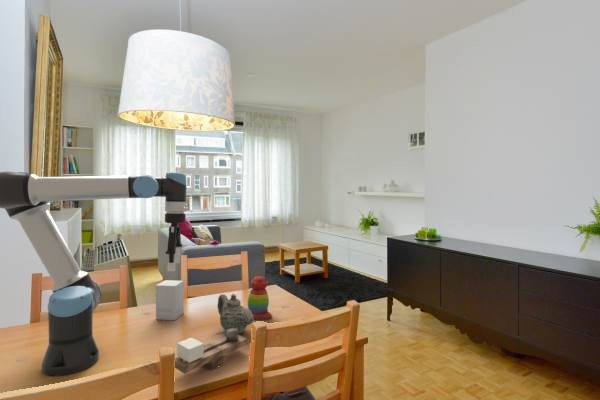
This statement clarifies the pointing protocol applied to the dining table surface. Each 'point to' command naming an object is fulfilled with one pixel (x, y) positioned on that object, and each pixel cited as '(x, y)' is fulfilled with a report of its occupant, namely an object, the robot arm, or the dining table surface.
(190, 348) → the rider
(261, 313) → the stacking bear
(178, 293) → the supplement box
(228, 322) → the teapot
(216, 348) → the beam
